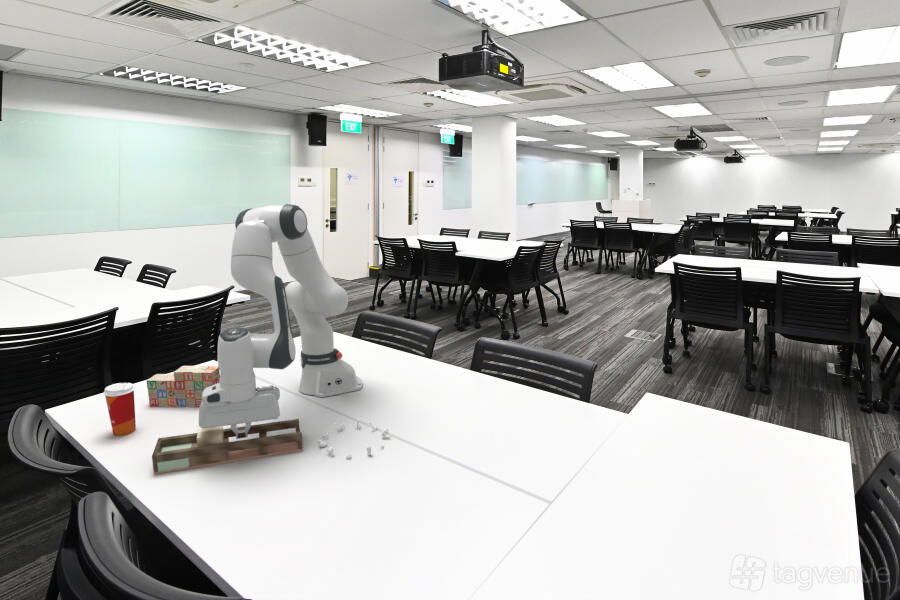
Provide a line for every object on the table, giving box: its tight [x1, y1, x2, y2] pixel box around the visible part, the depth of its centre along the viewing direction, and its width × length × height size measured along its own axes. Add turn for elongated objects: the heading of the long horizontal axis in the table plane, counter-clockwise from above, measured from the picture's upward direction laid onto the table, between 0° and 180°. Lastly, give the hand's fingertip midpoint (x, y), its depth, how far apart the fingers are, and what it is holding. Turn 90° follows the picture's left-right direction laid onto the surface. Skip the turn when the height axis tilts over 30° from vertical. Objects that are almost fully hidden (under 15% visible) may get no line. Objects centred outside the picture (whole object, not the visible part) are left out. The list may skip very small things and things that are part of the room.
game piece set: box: [316, 418, 389, 460], centre depth 145 cm, size 19×20×4 cm
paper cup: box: [102, 382, 137, 437], centre depth 149 cm, size 8×8×14 cm
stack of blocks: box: [146, 365, 220, 408], centre depth 170 cm, size 21×6×12 cm, turn 90°
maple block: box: [197, 426, 224, 447], centre depth 136 cm, size 6×5×4 cm
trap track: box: [151, 418, 304, 475], centre depth 138 cm, size 36×10×5 cm, turn 111°
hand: (242, 437), depth 139 cm, fingers closed
